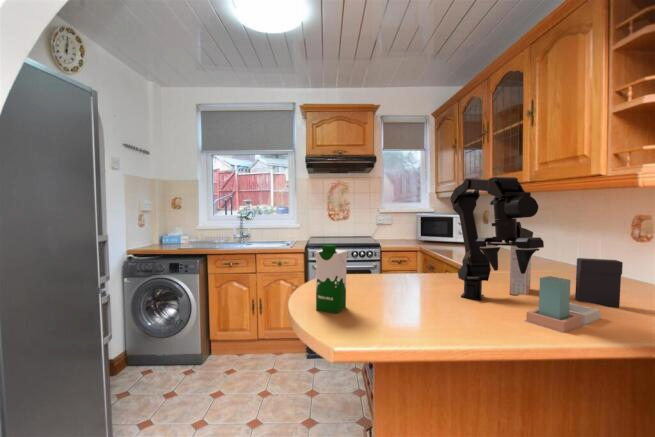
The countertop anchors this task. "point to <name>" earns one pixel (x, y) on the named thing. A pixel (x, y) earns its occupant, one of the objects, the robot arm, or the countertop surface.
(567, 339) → the countertop surface
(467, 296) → the robot arm
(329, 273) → the milk carton
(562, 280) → the plug
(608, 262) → the black box
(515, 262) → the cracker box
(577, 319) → the organiser
